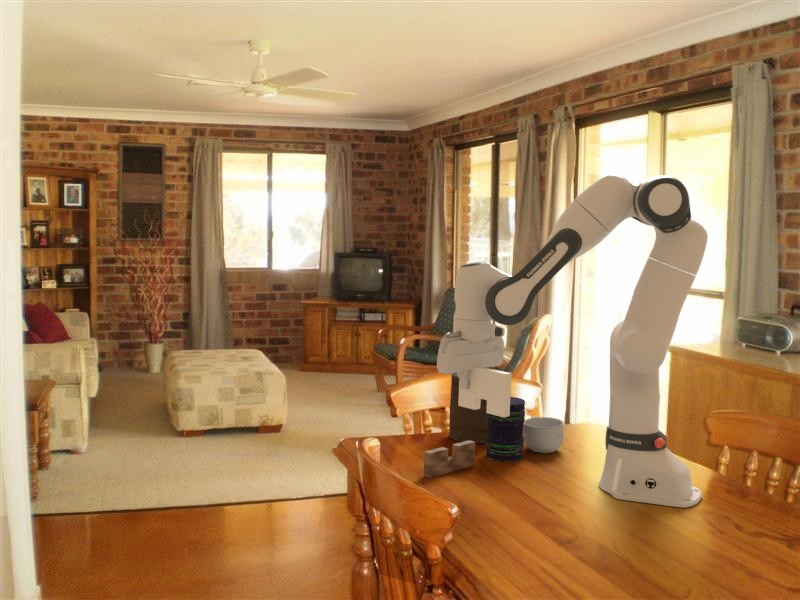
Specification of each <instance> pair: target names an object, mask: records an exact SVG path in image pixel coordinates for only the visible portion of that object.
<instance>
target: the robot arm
mask: <svg viewBox="0 0 800 600" xmlns="http://www.w3.org/2000/svg"><path fill="white" fill-rule="evenodd" d="M689 196H690V195H689V191H688V189H687V188H686V186H685V184H684V183H683V182H682V181H680V180H679V179H678V178H676V177H675V176H672V175H664V174H663V175H657V176H654V177H650V178H648V179H646V180H645V181H642V182H639V183H637V184H633V183H631V182H630V181H629V180H628V179H627V178H626V177H623V176H621V175H619V174H616V173H607V174H604V175H603V176H601V177H600V178H599V179H597V180H596V181H595V182H593V183H592V184H591V185H589V186H588V187H586V188H585V189H584V190H583V191H582V192H581V193H580V194H578V196H577V197H575V199H574V200H572V202H571V203H570V204H569V205H568V206H567V207H566V208H565V210H564V211H563V213H562V214H560V216H559V218H558V219H557V221H556V222H555V224H554V226H553V228H552V230H551V233H550V235H549V237H548V238H547V240H546V242H545V243H544V244H543V246H542V247H541V249H539V251H537V253H536V254H535V255H533V257H532V258H531V259H530V260H529V261H527V263H525V265H524V266H523V267H522V268H521V269H520V270H519V271H518V272H516V273H515V274H514V275H512V274H508V273H506V272H503V271H502V270H500V269H499V268H497V267H495V266H494V265H492V264H491V263H490V262H488V261H476V262H470V263H466V264H463V265H462V266H460V267H459V269H457V272H456V276H455V285H454V299H453V300H454V303H455V311H454V314H453V324H452V325H453V326H452V327H453V329H452V332H447V333H445V334H444V335H443V336H442V337H441V339H440V343H439V347H438V351H437V352H438V353H437V359H436V368H437V370H438V373H442V374H447V375H448V374H452V373H456V372H457V375H458V378H459V380H460V388H461V389H464V390H465V389H469V388H470V382H469V381H467V378H466V375H468V371H469V370H473V368H474V367H484V368H492V367H493V368H494V367H499V366H501V365H502V364H503V361H504V356H505V355H504V354H505V341H504V338H503V337H504V336H505V333H506V329H505V328H504V327H502V326H499V325H497V323H498V324H500V325H503V326H513V325H517V324H519V323H521V322H523V320H525V319H526V318H527V316H528V315H529V313H530V311H531V309H532V306H533V303H534V300H535V298H536V296H538V294H539V293H540V292H541V290H542V289H543V288H544V287H545V286H547V284H548V283H549V282H551V280H552V279H553V278H554V277H555V276H556V275H557V274H559V272H560V271H561V270H562V269H563V268H564V267H566V266H567V265H569V264H570V262H572V261H574V260H575V259H577V258H579V257H581V256H583V255H584V254H586V253H588V251H591V250H592V249H594V248H595V247H596V246H597V245H598V244H600V243H601V242H602V241H603V240H604V239H605V238H607V237H608V236H609V235H610V234H611V233H612V231H614V230H615V229H616V227H618V225H620V224H622V222H623V221H625V220H626V219H630V218H632V219H634V220H636V221H637V222H640V223H642V224H644V225H646V226H651V227H653V229H654V231H655V240H654V244H653V247H652V248H651V251H650V252H649V255H648V257H647V259H646V262H645V265H644V266H643V269H642V271H641V273H640V276H639V278H638V280H637V282H636V285H635V287H634V290H633V292H632V296H631V301H630V303H629V305H628V307H627V308H628V309H627V310H626V311H627V312H626V314H625V317H624V320H621V321H620V322H618V323H617V324H616V326H614V328H613V330H612V332H611V334H610V338H609V339H610V340H609V410H608V411H609V413H608V425H607V426H606V431H605V450H606V453H605V458H604V459H605V460H604V465H603V470H602V474H601V476H600V479H599V483H598V486H599V488H600V489H601V490H602V491H604V492H606V493H608V494H610V495H611V496H612V498H614V499H617V500H623V501H629V502H630V501H631V502H637V503H645V504H653V505H659V506H668V507H675V508H684V509H685V508H690V507H693V506H695V505H698V503H699V502H700V501H701V500H702V490H701V489H700V488H698V487H697V486H693V485H692V475H691V472H690V468H689V466H687V465H686V464H685V463H684V462H683V461H682V460H680V459H679V458H678V457H677V456H676V455H675V454H674V453H673V452H672V451H671V450H670V449H668V447H667V444H668V439H669V438H668V434H669V433H665V434H664V433H663V432H662V431H660V429H659V425H660V424H659V423H660V402H661V395H660V377H659V375H660V374H659V368H660V367H661V366H662V364H663V363H664V361H665V359H666V356H667V353H668V350H669V347H670V344H671V343H672V339H673V336H674V332H675V330H676V327H677V324H678V321H679V318H680V314H681V311H682V309H683V306H684V304H685V302H686V299H687V298H688V295H689V293H690V290H691V288H692V285H693V283H694V281H695V278H696V277H697V274H698V272H699V270H700V267H701V264H702V261H703V258H704V255H705V251H706V247H707V243H708V238H709V237H708V232H707V230H706V228H704V226H703V225H702V224H701V223H699V221H698V222H697V221H696V220H693V219H691V218H692V213H691V204H690V203H691V202H690V197H689ZM492 320H493V321H494V322H496V324H494V323H492Z"/></svg>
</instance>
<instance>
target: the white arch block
mask: <svg viewBox="0 0 800 600" xmlns="http://www.w3.org/2000/svg"><path fill="white" fill-rule="evenodd" d="M466 378H467V381H469V382H470V388H469V389H465V390H464V389H461V388H460V380H459V401H458V406H462V407H465V408H469V409H473V410H476V409H480V403H481V399H484V400H487V410H486V413H489V414H492V415H496V416H500V417H508V416H509V414H510V397H511V392H512V391H511V390H512V388H511V387H512V372H508V371H507V372H506V371H502V370H498V369H492V368H490V367H488V368H484V367H474V368H473V370H469V371H468V375H466Z"/></svg>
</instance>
